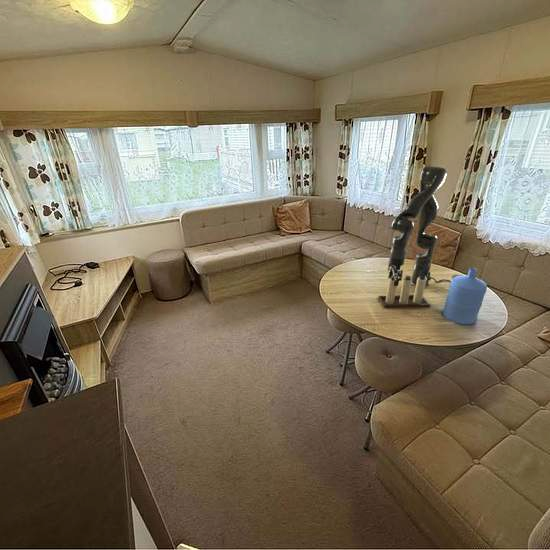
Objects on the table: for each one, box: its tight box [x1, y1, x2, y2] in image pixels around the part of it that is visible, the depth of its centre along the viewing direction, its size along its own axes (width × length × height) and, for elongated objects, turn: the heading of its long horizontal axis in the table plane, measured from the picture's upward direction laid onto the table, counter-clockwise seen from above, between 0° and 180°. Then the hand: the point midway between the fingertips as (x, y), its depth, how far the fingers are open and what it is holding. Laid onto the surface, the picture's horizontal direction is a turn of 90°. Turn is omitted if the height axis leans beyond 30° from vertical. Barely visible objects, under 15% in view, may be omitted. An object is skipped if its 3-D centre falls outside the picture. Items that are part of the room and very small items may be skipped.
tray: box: [377, 294, 431, 309], centre depth 172 cm, size 26×11×2 cm, turn 90°
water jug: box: [442, 267, 488, 325], centre depth 153 cm, size 16×16×28 cm
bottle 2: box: [413, 275, 427, 304], centre depth 169 cm, size 5×5×16 cm
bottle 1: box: [399, 275, 412, 304], centre depth 169 cm, size 5×5×16 cm
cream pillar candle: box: [385, 276, 398, 305], centre depth 169 cm, size 5×5×16 cm
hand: (392, 282), depth 167 cm, fingers open, 8 cm apart
